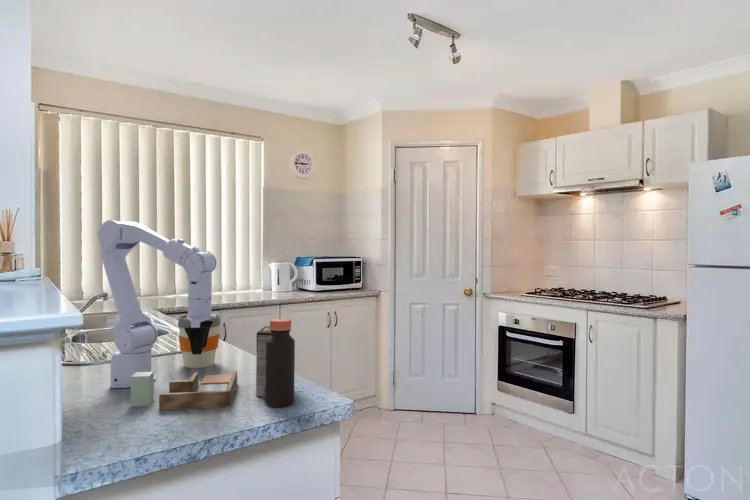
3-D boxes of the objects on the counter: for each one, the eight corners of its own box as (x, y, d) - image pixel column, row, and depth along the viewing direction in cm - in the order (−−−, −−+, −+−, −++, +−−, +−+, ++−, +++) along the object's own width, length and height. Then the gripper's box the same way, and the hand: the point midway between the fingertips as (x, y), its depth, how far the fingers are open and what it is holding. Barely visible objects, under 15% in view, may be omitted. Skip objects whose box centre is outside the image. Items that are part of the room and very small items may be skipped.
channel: (159, 410, 110) (159, 394, 110) (176, 386, 129) (176, 373, 129) (229, 406, 113) (229, 391, 113) (237, 383, 132) (237, 370, 132)
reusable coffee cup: (220, 358, 160) (220, 312, 159) (220, 368, 148) (220, 318, 147) (178, 361, 156) (179, 314, 155) (176, 371, 144) (176, 320, 143)
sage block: (130, 406, 113) (130, 376, 113) (135, 401, 117) (136, 372, 116) (149, 405, 113) (149, 376, 113) (153, 400, 117) (153, 371, 117)
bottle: (259, 406, 114) (260, 321, 114) (275, 397, 120) (276, 317, 120) (284, 409, 112) (285, 323, 111) (299, 400, 118) (300, 318, 118)
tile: (200, 384, 131) (200, 383, 131) (205, 376, 139) (205, 375, 139) (231, 382, 132) (231, 381, 132) (234, 374, 140) (234, 373, 140)
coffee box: (264, 385, 130) (264, 325, 130) (288, 386, 130) (288, 326, 130) (254, 396, 121) (255, 332, 121) (280, 397, 121) (281, 332, 121)
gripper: (212, 301, 119) (212, 356, 119) (219, 295, 133) (218, 344, 134) (182, 302, 118) (181, 357, 118) (192, 295, 132) (191, 345, 132)
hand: (199, 350), depth 126 cm, fingers open, 7 cm apart
